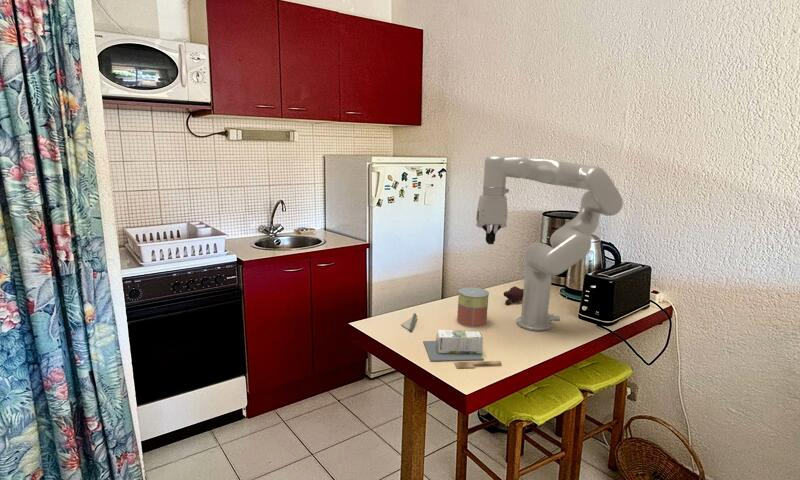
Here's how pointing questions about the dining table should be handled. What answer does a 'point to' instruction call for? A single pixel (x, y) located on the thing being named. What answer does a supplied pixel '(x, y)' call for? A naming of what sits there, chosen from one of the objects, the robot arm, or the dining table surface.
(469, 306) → the canned food
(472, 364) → the spatula
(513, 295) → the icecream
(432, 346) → the mat
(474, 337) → the syrup box
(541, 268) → the robot arm
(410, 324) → the ceramic fragment
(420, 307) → the dining table surface
